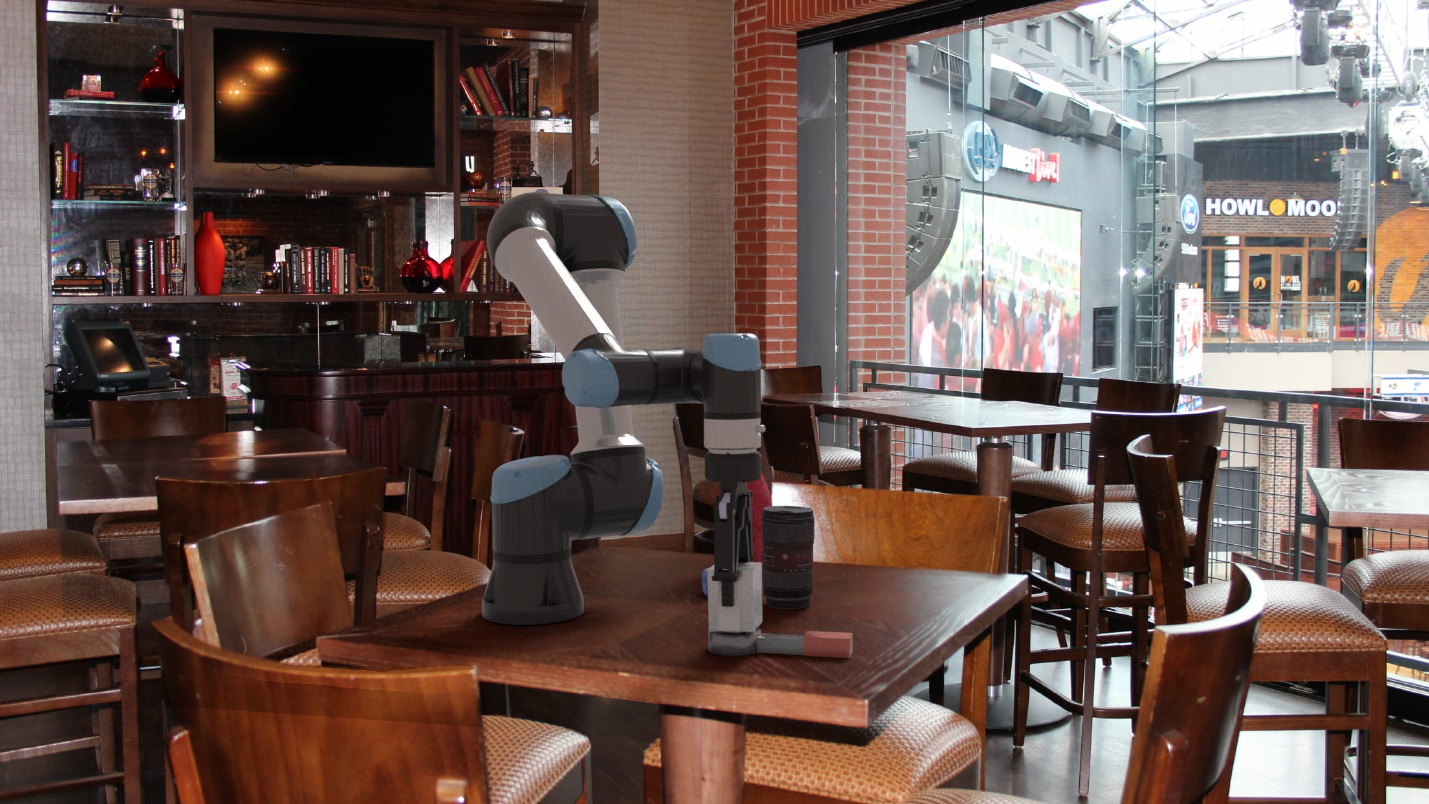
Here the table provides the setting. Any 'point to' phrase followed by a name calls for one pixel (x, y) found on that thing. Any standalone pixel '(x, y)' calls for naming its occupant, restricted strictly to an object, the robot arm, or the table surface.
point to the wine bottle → (758, 513)
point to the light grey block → (748, 597)
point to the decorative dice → (705, 581)
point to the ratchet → (781, 643)
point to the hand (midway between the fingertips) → (735, 623)
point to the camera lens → (788, 556)
